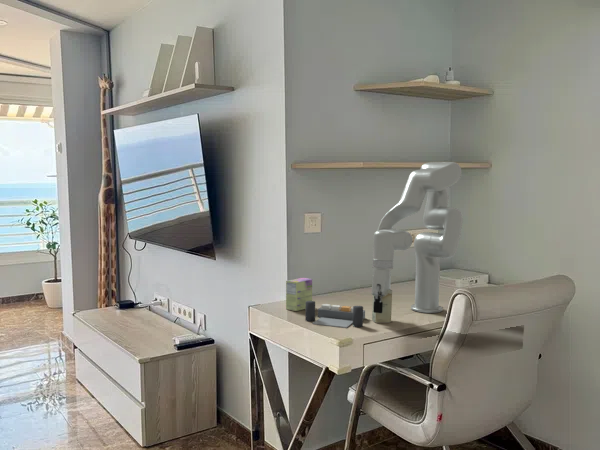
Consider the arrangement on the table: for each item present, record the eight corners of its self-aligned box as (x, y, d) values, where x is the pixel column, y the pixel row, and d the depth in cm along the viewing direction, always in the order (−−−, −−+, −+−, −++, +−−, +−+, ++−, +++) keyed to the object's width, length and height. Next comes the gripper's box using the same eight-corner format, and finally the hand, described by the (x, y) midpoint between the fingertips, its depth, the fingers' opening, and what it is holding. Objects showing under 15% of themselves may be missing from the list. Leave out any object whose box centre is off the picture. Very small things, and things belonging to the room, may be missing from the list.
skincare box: (375, 323, 204) (376, 290, 203) (371, 320, 208) (372, 288, 207) (391, 322, 205) (392, 290, 204) (387, 319, 210) (388, 287, 209)
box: (301, 305, 232) (301, 277, 231) (312, 307, 228) (312, 278, 227) (285, 309, 224) (285, 280, 223) (296, 311, 220) (296, 282, 219)
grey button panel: (323, 313, 218) (323, 302, 218) (365, 318, 211) (365, 306, 211) (307, 323, 203) (307, 311, 202) (352, 328, 196) (352, 316, 196)
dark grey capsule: (354, 324, 202) (354, 305, 202) (363, 325, 201) (364, 306, 200) (351, 326, 199) (351, 307, 199) (361, 327, 198) (361, 308, 197)
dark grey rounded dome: (307, 318, 210) (307, 300, 209) (316, 319, 208) (316, 301, 208) (303, 320, 206) (304, 302, 206) (312, 322, 205) (313, 303, 204)
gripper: (378, 260, 214) (377, 304, 216) (366, 266, 198) (365, 313, 200) (398, 262, 211) (396, 306, 213) (387, 268, 196) (385, 316, 197)
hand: (381, 310), depth 206 cm, fingers open, 9 cm apart
